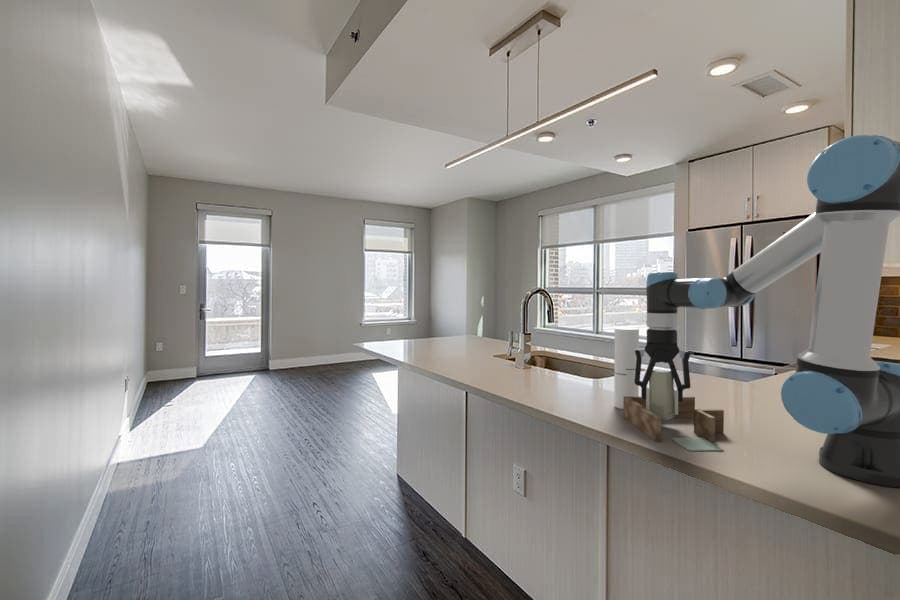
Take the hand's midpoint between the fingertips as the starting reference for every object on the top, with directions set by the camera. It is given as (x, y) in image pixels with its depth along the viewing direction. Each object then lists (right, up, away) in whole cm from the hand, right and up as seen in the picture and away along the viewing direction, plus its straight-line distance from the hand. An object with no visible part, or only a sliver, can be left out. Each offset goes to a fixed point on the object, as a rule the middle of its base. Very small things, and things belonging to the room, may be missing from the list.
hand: (661, 411), depth 117 cm
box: (0, -2, 0) cm, 2 cm away
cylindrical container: (-2, -3, +19) cm, 19 cm away
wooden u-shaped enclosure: (+3, -4, -2) cm, 5 cm away
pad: (+1, -4, -14) cm, 15 cm away
